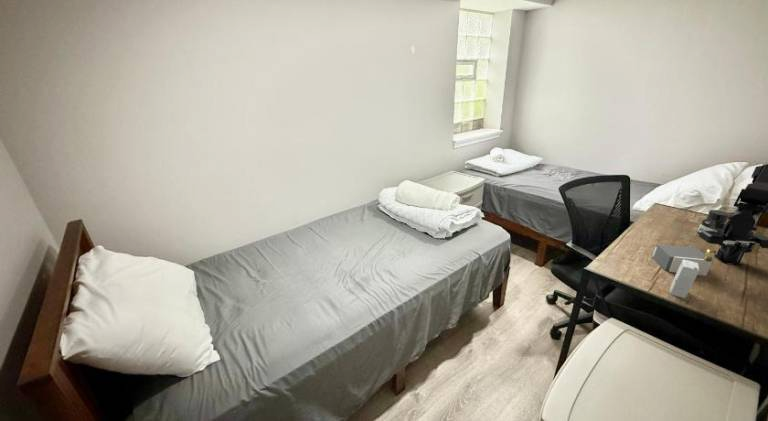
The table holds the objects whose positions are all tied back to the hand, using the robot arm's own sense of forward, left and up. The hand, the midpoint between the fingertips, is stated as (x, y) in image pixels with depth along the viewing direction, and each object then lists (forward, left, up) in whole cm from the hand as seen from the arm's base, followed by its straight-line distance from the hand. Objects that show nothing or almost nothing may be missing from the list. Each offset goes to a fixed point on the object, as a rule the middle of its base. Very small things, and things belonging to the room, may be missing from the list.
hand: (725, 259), depth 117 cm
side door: (+10, 0, -8) cm, 12 cm away
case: (+10, -6, -8) cm, 14 cm away
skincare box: (+20, +14, -8) cm, 26 cm away
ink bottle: (-20, -40, -8) cm, 45 cm away
